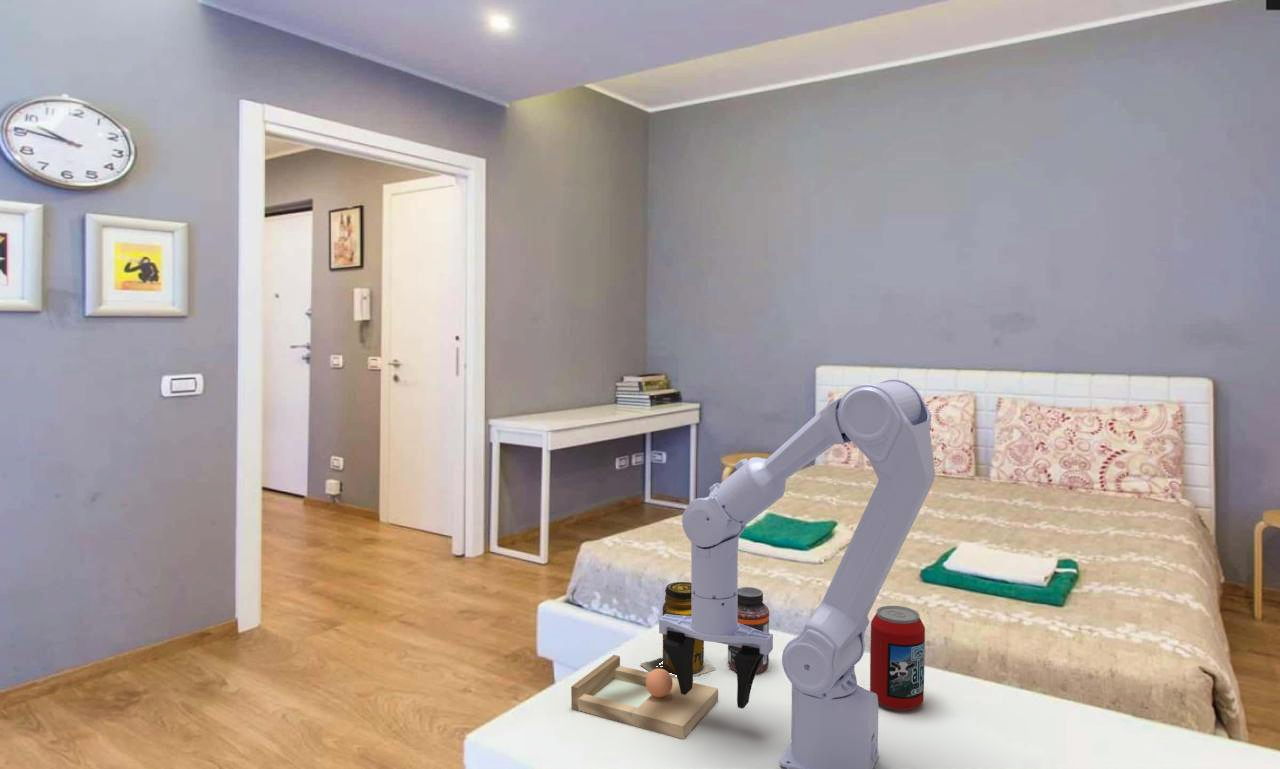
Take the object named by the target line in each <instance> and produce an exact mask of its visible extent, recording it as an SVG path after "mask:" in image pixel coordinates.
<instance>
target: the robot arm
mask: <svg viewBox="0 0 1280 769" xmlns="http://www.w3.org/2000/svg"><path fill="white" fill-rule="evenodd" d="M925 402H926V401H924V398H923V396H922V395H921V394H920V392H919V391H918V389H917V388H916V387H915V386H914V385H913V384H911V383H909V382H907V381H904V380H901V379H895V378H894V379H888V380H884V381H882V382H879V383H877V382H876V383H863V384H858V385H856V386H853V387H852V388H850V389H849V390H848V391H847V392H846V393H845V394H844V395H843V396H842V397H838V398H837V399H835V400H833V401H831V402H829V403H828V404H827V405H826V406H825V407H823V408H822V409H821V410H820V411H819V412H818V413H816V414H815V415H814V416H813V417H812V418H811V419H810V420H808V422H806V423H805V424H804V425H803V426H802V427H801V428H800V429H798V431H797V432H795V433H794V434H793V435H792V436H791V437H790V438H788V439H787V440H786V441H785V442H784V443H783V444H782V445H781V446H780V447H778V448H777V449H776V450H775V451H774V452H773V453H771V455H770V456H768V458H763V457H757V456H755V457H751V458H749V460H748V458H743V459H741V460H739V461H738V462H736V464H734V468H735V469H736V470H735V471H734V472H733V473H731V474H730V475H729V476H728V477H726V478H725V479H724V480H723V481H722V482H721V483H719V482H716V483H714V484H713V485H711V486H710V487H709V488H708V489H709V490H708V491H710V492H709V495H708V496H706V497H698V498H694V499H692V500H690V502H689V504H688V505H687V506H686V508H685V509H684V511H683V513H682V519H681V521H682V522H681V523H682V524H681V525H682V529H683V532H684V534H685V535H686V537H687V539H688V540H689V541H690V542H691V543H690V544H691V545H690V547H691V549H690V550H691V551H690V552H691V557H690V558H691V559H690V560H691V564H690V565H691V566H690V567H691V570H690V571H691V572H690V574H691V582H690V583H691V616H679V615H669V614H665V615H664V616H663V615H662V616H661V617H660V618H659V619H658V633H659V634H661V635H663V634H667V636H666V639H665V640H664V641H663V640H662V649H663V648H664V649H665V651H666V653H667V654H668V656H669V658H670V660H671V662H672V664H673V667H674V669H675V672H676V675H677V679H678V682H679V687H680V691H681V694H684V695H686V694H687V693H688V692H689V691H690V690H691V689H692V685H693V683H694V676H693V652H694V644H695V638H697V639H700V640H703V641H704V642H712V643H717V644H722V645H727V646H728V645H732V646H737V647H742V650H741V651H739V652H738V653H737V654H736V655H735V656H734V661H735V666H736V671H735V672H736V677H737V678H736V679H737V680H736V681H737V690H736V691H737V692H736V702H737V708H738V709H745V707H746V706H747V705H748V704H749V702H750V695H751V690H752V686H753V682H754V679H755V676H756V674H757V673H756V672H757V669H758V667H759V665H760V663H761V660H762V658H763V657H764V655H768V654H770V653H771V652H772V651H773V649H774V637H773V636H774V634H773V633H770V632H769V633H766V632H762V631H759V630H756V629H754V628H751V627H748V626H745V625H743V624H740V623H738V588H739V587H738V586H739V585H738V582H739V581H738V575H739V574H738V572H739V571H738V570H739V569H738V568H739V567H738V566H739V565H738V564H739V563H738V562H739V561H738V555H739V554H738V553H739V552H738V551H739V540H740V536H741V535H742V533H743V532H744V531H745V529H746V527H747V524H749V523H750V522H752V521H753V520H755V519H756V518H757V517H758V516H759V515H761V514H762V513H764V512H765V511H766V510H767V509H768V508H770V507H771V506H772V505H774V504H776V502H778V501H779V500H780V499H782V498H783V496H784V494H785V492H786V481H787V480H788V479H789V478H790V477H792V476H793V475H795V474H796V473H797V472H798V471H800V470H801V469H803V468H804V467H805V466H807V465H808V464H809V463H811V462H813V461H814V460H815V459H816V458H818V457H819V456H820V455H822V454H823V453H825V452H826V451H827V450H829V449H830V448H831V447H833V446H835V445H843V444H844V445H845V444H847V443H851V442H852V443H853V445H854V446H855V447H856V448H857V449H859V451H861V453H862V454H863V456H865V457H866V458H867V460H868V461H869V463H870V465H871V467H872V469H873V471H874V473H875V475H876V477H877V483H876V486H874V487H875V488H874V490H873V492H872V494H871V496H870V498H869V500H868V502H867V505H866V506H865V509H864V511H863V513H862V516H861V517H860V519H859V522H858V524H857V526H856V528H855V530H854V532H853V535H852V537H851V539H850V541H849V543H848V545H847V547H846V549H845V552H844V554H843V555H842V558H841V560H840V562H839V564H838V566H837V568H836V571H835V573H834V575H833V577H832V579H831V581H830V583H829V586H828V588H827V590H826V592H825V595H824V596H823V599H822V601H821V602H820V603H819V605H818V606H817V608H816V609H815V610H814V611H813V613H812V614H811V616H810V617H809V618H808V619H807V621H806V623H805V624H804V626H803V628H802V631H801V632H800V633H799V635H797V636H796V637H794V638H793V639H791V640H790V641H788V643H787V644H786V645H785V646H784V649H783V651H782V656H781V664H782V668H783V671H784V674H785V676H786V677H787V679H788V680H789V682H790V684H791V720H790V721H791V722H790V723H791V726H790V727H791V731H790V733H791V736H790V738H791V739H790V740H791V742H790V744H789V745H788V747H787V748H786V750H785V751H784V753H783V755H782V756H781V758H780V759H779V766H781V767H783V768H787V769H874V767H875V764H876V762H877V760H878V757H879V753H880V752H879V749H878V748H879V745H878V744H879V702H878V697H877V694H876V693H874V692H871V691H870V690H868V689H866V688H864V687H862V686H860V685H858V681H857V676H856V671H855V667H856V664H858V663H859V662H860V661H861V659H862V658H863V656H864V654H865V649H866V648H865V647H866V646H865V644H866V643H865V633H866V630H867V628H868V626H869V624H870V620H869V617H868V616H869V614H870V611H871V609H872V608H873V605H874V604H875V601H876V600H877V598H878V595H879V593H880V592H881V589H882V588H883V586H884V583H885V581H886V579H887V577H888V575H889V573H890V571H891V569H892V568H893V565H894V563H895V561H896V559H897V558H898V555H899V553H900V551H901V550H902V547H903V545H904V543H905V541H906V539H907V536H908V534H909V533H910V530H911V528H912V527H913V525H914V523H915V520H916V518H917V517H918V515H919V512H920V510H921V508H922V506H923V504H924V502H925V500H926V498H927V496H928V494H929V492H930V490H931V488H932V486H933V484H934V481H935V477H936V474H935V473H936V472H935V463H934V455H933V447H932V437H931V423H932V416H933V415H932V413H931V411H930V409H929V408H928V406H927V404H926V403H925Z"/></svg>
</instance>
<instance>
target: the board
mask: <svg viewBox="0 0 1280 769" xmlns="http://www.w3.org/2000/svg"><path fill="white" fill-rule="evenodd" d="M649 673H650V671H644V670H639V669H636V668H632V667H628V666H627V667H626V666H622V665H621V656H620V655H617V654H613V655H612V656H610V657H609V658H608V659H606V660H605V661H604V662H602V663H601V664H599V665H598V666H597V667H595V668H594V669H592V670H591V671H590V672H589V673H588V674H586V675H585V676H583V677H582V678H581V679H579V680H578V681H577V682H575V683H574V684H573V685H572V686H571V691H570V693H571V699H570V700H571V710H574V711H578V712H581V711H582V713H585V712H586V714H589V713H590V714H589V715H592V714H593V716H596V717H600V718H604V719H607V720H611V719H612V720H611V721H614V722H615V721H616V722H618V721H619V722H618V723H622V722H623V723H622V724H626V725H631V726H632V727H633V726H634V727H638V728H640V729H641V728H642V729H644V730H648V731H652V732H656V733H659V734H663V735H667V736H671V737H675V738H678V739H682V740H684V739H685V738H686V737H687V736H688V734H689V733H690V732H692V730H693V729H694V728H695V727H696V726H697V724H698V723H699V722H700V721H701V720H702V719H703V717H704V716H705V715H706V714H707V713H708V712H709V711H710V710H711V709H712V708H713V706H714V705H715V704H716V703H717V702H718V701H719V688H717V687H713V686H710V685H704V684H701V683H696V682H693V685H692V689H691V690H690V691H689V692H688V693H687V694H686V695H684V694H681V691H680V687H679V682H678V679H675V678H672V682H673V685H672V689H671V691H670V692H669V693H668V694H667V695H666V696H664V697H654V696H652V695H651V694H650V693H649V692H648V690H647V688H646V678H647V676H648V674H649Z"/></svg>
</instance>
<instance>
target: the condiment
mask: <svg viewBox="0 0 1280 769" xmlns="http://www.w3.org/2000/svg"><path fill="white" fill-rule="evenodd" d="M664 592H665V596H664V600H665V601H664V603H663V605H662V616H664V615H665V614H669V615H679V616H691V582H690V581H676V582H671V583H669V584H667V585H666V587H665V590H664ZM666 636H667V634H662V642H663V641H664V640H665V639H666ZM704 646H705V641H703V640H700V639H697V638H695V644H694V652H693V677H696V676H699V675H703V674H706V673H708V672H712V671H714V670H716V669H717V668H716V667H714V666H712V665H710V664H708V663H706V662H704V661H705V658H704V657H705V647H704ZM662 661H663V664H661V665H659V663H661V662H662ZM640 666H642V667H643V668H644V669H646V671H648V672H649V673H650V672H651V671H652V670H654V669H664V670H666V671H667V672H668V673H672V674H675V675H676V672H675V669H674V667H673V664H672V662H671V660H670V658H669V656H668V654H667V653H666V651H665V649H664V648H663V647H662V657H660V658H657V659H653V660H650V661H645V662H642V663H640ZM656 666H658V667H656ZM660 666H663V667H660ZM675 675H673V676H672V675H671V677H672V678H675V679H677V677H675Z"/></svg>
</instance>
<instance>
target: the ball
mask: <svg viewBox="0 0 1280 769" xmlns="http://www.w3.org/2000/svg"><path fill="white" fill-rule="evenodd" d="M671 676H672V675H670V674H669V673H668V672H667V671H666V670H664V669H654V670H652V671H651V672H650V671H649V674H648V676H647V678H646V688H647V690H648V692H649V693H650V694H651V695H652V696H654V697H664V696H666V695H667V694H668V693H669V692H670V691H671V689H672V685H673V682H672V677H671Z"/></svg>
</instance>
